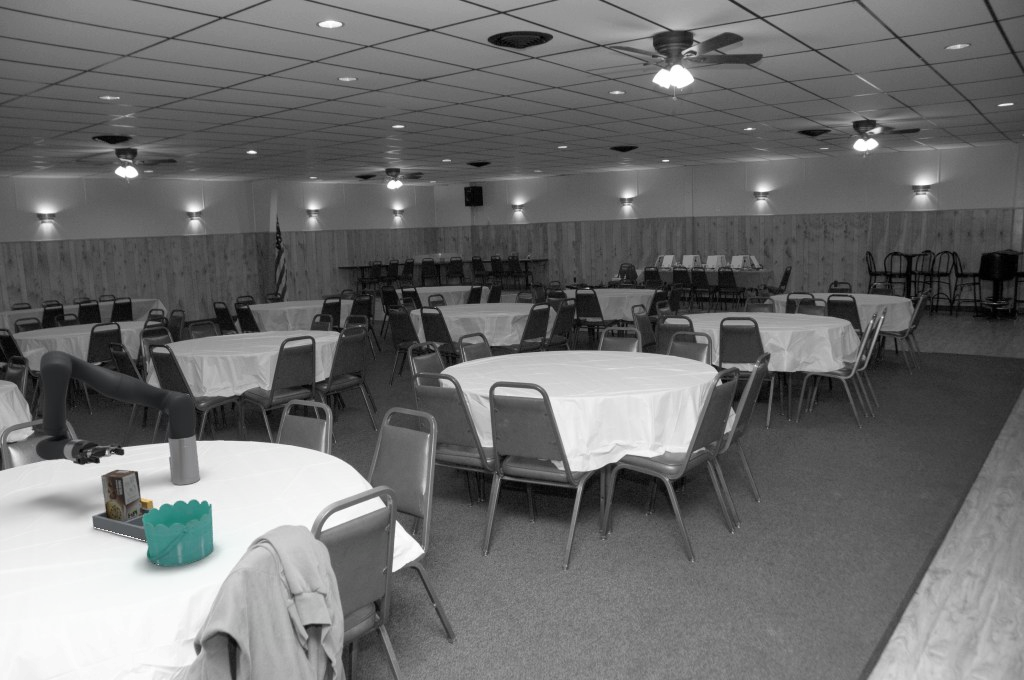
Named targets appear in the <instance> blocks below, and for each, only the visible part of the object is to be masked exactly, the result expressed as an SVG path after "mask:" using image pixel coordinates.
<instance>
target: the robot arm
mask: <svg viewBox="0 0 1024 680" xmlns="http://www.w3.org/2000/svg"><path fill="white" fill-rule="evenodd" d="M39 375H40V377H41V381H42V386H43V392H44V393H43V394H44V395H43V396H44V399H43V400H44V402H43V409H42V425H41V426H42V432H43V434H45V435H46V436H50V437H47V438H44V439H41V440H40V441H38V443H37V444H36V445H35V452H36V455H37V456H38V457H39V458H41V459H42V460H45V461H58V460H68V461H71V462H73V464H75V465H76V464H77V465H80V466H84V465H87V464H88V465H90V464H100V463H101V459H102V458H109V457H111V456H114V455H115V456H116V455H117V456H124V455H125V449H124V448H122V444H117V443H108V444H107V445H103V446H102V445H98V443H96V442H95V441H91V440H84V439H74V438H70V435H69V433H68V430H67V403H66V402H67V401H66V398H67V392H68V387H69V383H70V379H74V380H77V381H80V382H82V383H83V384H85V385H87V386H88V387H90V388H91V389H93V390H94V391H96V392H97V393H99V394H101V395H102V396H104V397H106V398H110V399H113V400H116V401H118V402H122V403H128V404H132V405H133V404H134V405H139V406H140V405H141V406H146V407H150V408H153V409H155V410H158V411H160V412H162V413H163V414H166V415H167V416H168V421H169V423H168V424H169V428H168V430H167V435H168V436H167V437H168V445H169V455H170V456H169V458H168V460H169V467H170V468H169V469H170V479H171V483H173V484H174V485H178V486H179V485H181V486H183V485H190V484H195V483H196V482H199V481H200V479H201V476H200V466H199V456H198V445H197V435H196V428H197V418H196V417H197V416H196V415H197V414H196V406H195V401H194V399H193V398H192V397H191V396H189V395H187V394H185V393H183V392H181V391H175V390H170V389H165V388H161V387H157V386H154V385H151V384H149V383H147V382H145V381H143V380H141V379H138V378H136V377H133V376H131V375H128V374H126V373H122V372H119V371H115V370H111V369H109V368H106V367H103V366H100V365H98V364H97V365H96V364H93V363H91V362H88V361H86V360H83V359H81V358H78V357H76V356H74V355H72V354H70V353H67V352H64V351H61V350H50V351H48V352H45V353H44V354H43V355H42V356H41V358H40V363H39Z"/></svg>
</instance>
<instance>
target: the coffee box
mask: <svg viewBox="0 0 1024 680" xmlns="http://www.w3.org/2000/svg"><path fill="white" fill-rule="evenodd" d="M100 477H101V478H100V479H101V485H102V486H101V487H102V491H103V492H102V493H103V499H104V500H103V501H104V507H105V511H106V516H107V518H109V519H113V520H117V521H121V522H126V521H128V520H131V519H134V518H136V517H139V516H142V515H143V512H142V503H141V498H142V497H141V496H142V495H141V488H140V487H141V486H140V479H139V471H138V470H129V469H126V470H124V469H115V470H112V471H110V472H107V473H105V474H103V475H101V476H100Z"/></svg>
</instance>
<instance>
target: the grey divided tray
mask: <svg viewBox="0 0 1024 680" xmlns="http://www.w3.org/2000/svg"><path fill="white" fill-rule="evenodd" d="M141 503H142V512H143V515H144V514H145V513H147V514H148V515H149V511H150V510H151V509H152V508H154V502H153V500H152V499H148V498H143V497H141ZM169 504H170V503H169ZM170 505H171V506H173V505H174V504H170ZM143 515H142V516H139V517H136V518H134V519H131V520H128V521H126V522H121V521H117V520H113V519H109V518H107V516H106V510H105V511H103V512H99V513H97V514H94V515H92V516H91V517H92V519H91V520H92V523H93V524H92V526H93V528H94V527H96V528H100V529H104V530H108V531H112V532H115V533H119V534H123V535H127V536H131V537H134V538H138V539H141V540H145V541H147V539H146V536H145V530H144V527H143V520H142V519H143Z"/></svg>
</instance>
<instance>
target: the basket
mask: <svg viewBox="0 0 1024 680" xmlns="http://www.w3.org/2000/svg"><path fill="white" fill-rule="evenodd" d="M171 505H173V506H171ZM171 505H170V503H163V504H161V505H160V507H159V508H156V507H153V508H152V509H151V510H150V511H149V515H148V514H147V513H145V514H144V515H143V519H142V520H143V527H144V530H145V536H146V539H147V542H146V543H147V550H146V557H147V559H148V560H150V562H151V561H152V562H153V563H152V562H151V563H152V564H154V563H155V564H154V565H156V564H159V565H158V566H160V565H166V566H165V567H175V565H176V566H183V565H187V564H190V563H193V562H194V563H195V562H197V561H200V560H202V559H204V558H206V557H207V556H209V555H210V554H211V553H212V552H213V550H214V530H213V529H214V528H213V508H212V507H213V505H212V503H209V502H208V501H207V500H202V501H201V502H199V501H198V500H197V499H190V500H189V501H188V503H187V502H186V501H184V500H176V501H175V502H174V503H173V504H171Z"/></svg>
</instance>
